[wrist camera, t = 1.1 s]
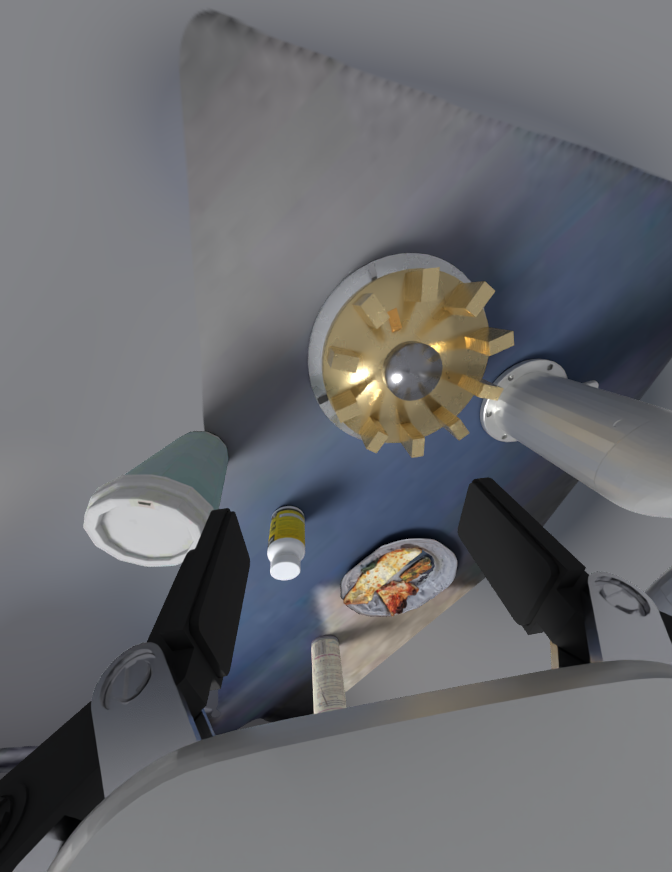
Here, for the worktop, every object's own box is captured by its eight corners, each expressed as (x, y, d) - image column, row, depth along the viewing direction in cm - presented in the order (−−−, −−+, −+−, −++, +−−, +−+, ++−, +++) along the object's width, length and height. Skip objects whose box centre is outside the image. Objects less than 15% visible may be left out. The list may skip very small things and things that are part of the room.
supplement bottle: (271, 504, 41) (265, 558, 33) (305, 504, 42) (307, 557, 34) (270, 528, 44) (264, 584, 35) (302, 528, 45) (304, 583, 36)
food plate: (387, 618, 63) (392, 634, 60) (316, 587, 53) (317, 604, 50) (470, 559, 57) (480, 573, 54) (405, 512, 47) (413, 526, 44)
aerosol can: (305, 647, 64) (309, 777, 47) (321, 633, 62) (330, 764, 45) (328, 651, 67) (339, 776, 49) (343, 638, 65) (360, 763, 47)
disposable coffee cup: (235, 487, 39) (204, 583, 26) (155, 473, 36) (74, 574, 23) (248, 425, 34) (218, 504, 21) (158, 404, 31) (60, 481, 18)
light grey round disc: (481, 231, 27) (495, 226, 25) (474, 413, 38) (483, 419, 36) (282, 285, 27) (281, 284, 25) (331, 452, 38) (333, 461, 36)
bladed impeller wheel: (484, 398, 35) (521, 418, 29) (355, 455, 36) (366, 483, 31) (463, 235, 25) (510, 217, 20) (291, 320, 27) (290, 326, 21)
